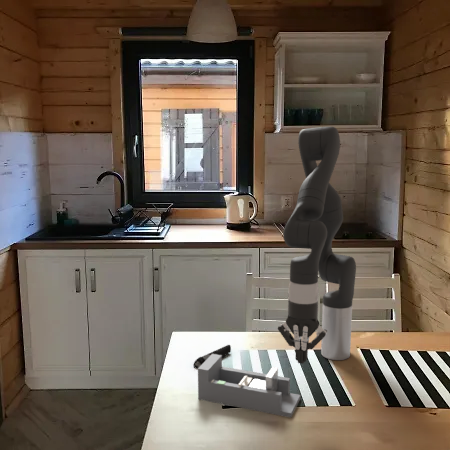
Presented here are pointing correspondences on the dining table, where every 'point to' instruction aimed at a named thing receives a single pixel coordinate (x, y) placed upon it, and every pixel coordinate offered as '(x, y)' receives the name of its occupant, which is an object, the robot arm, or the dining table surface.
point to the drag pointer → (246, 381)
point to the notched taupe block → (267, 381)
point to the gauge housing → (243, 389)
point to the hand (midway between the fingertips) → (301, 362)
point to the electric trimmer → (221, 351)
